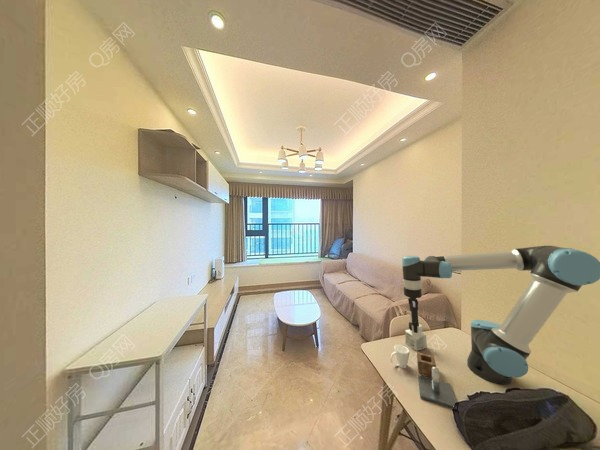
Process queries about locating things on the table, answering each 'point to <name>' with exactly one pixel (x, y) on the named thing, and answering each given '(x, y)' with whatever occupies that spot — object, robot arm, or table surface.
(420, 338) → the container
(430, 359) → the collar
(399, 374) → the table surface
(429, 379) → the post stand
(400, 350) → the cup
